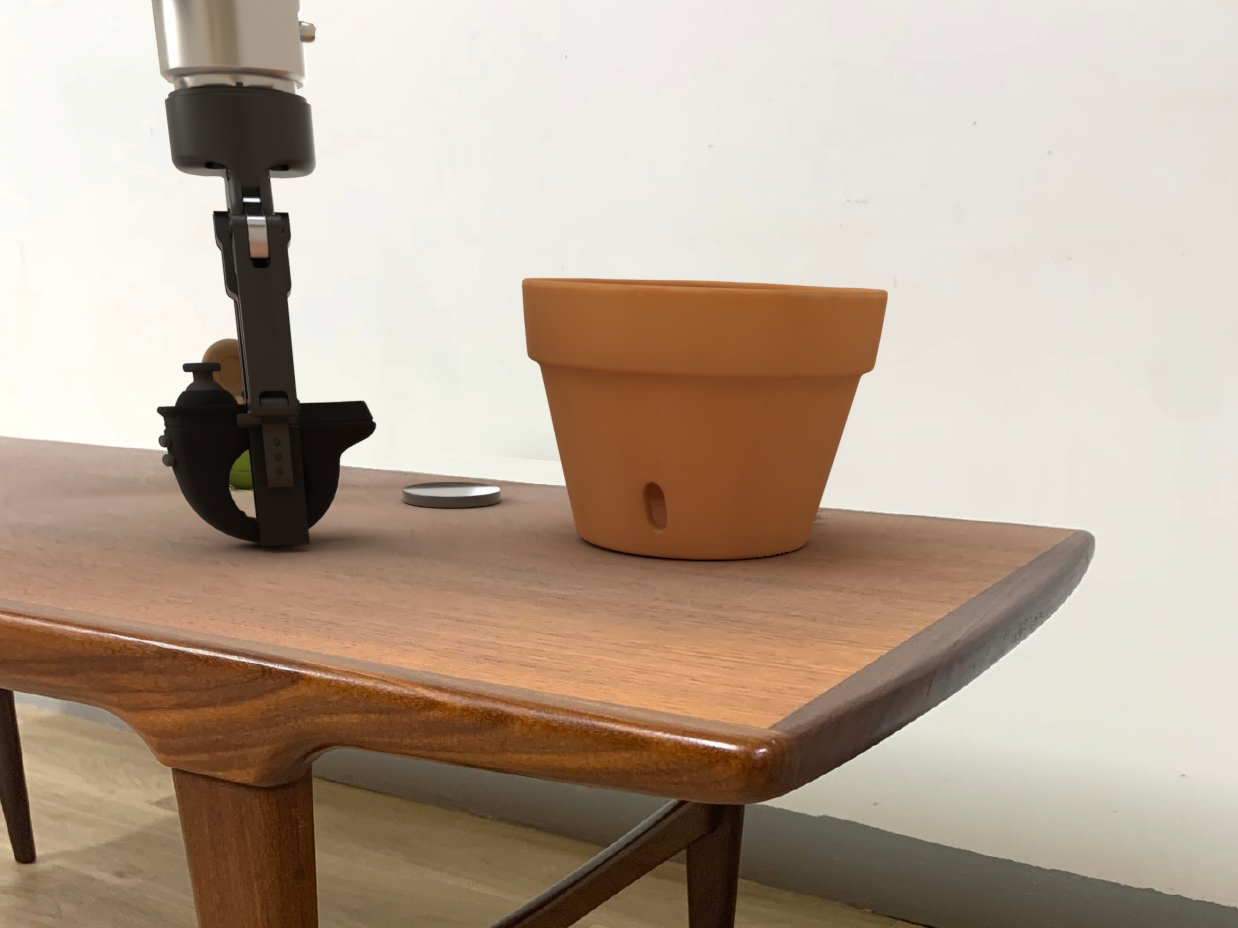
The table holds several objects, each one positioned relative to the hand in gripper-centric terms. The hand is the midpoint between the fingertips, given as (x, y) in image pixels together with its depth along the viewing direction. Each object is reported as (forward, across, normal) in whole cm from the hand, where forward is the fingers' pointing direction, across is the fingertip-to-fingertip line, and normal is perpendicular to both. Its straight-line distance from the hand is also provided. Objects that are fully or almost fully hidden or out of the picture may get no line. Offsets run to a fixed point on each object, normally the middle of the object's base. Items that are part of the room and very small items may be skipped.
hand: (282, 535), depth 78 cm
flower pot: (+1, -4, -25) cm, 25 cm away
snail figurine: (0, +22, +1) cm, 22 cm away
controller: (0, 0, 0) cm, 1 cm away
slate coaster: (0, +14, -13) cm, 19 cm away
